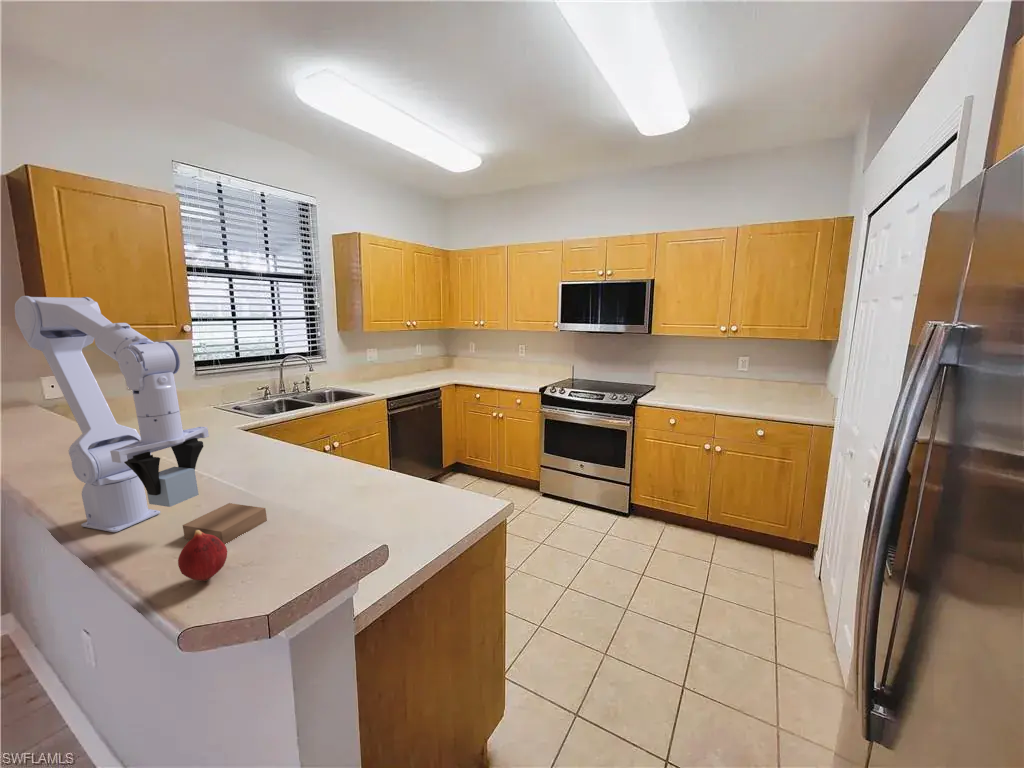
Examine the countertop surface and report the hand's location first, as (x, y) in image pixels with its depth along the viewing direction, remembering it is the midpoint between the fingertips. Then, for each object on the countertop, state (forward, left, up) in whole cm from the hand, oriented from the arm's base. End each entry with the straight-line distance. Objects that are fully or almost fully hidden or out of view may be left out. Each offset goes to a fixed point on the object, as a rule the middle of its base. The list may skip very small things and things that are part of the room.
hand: (171, 487), depth 75 cm
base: (+7, +4, -9) cm, 12 cm away
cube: (0, 0, -2) cm, 2 cm away
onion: (+18, -9, -9) cm, 22 cm away
